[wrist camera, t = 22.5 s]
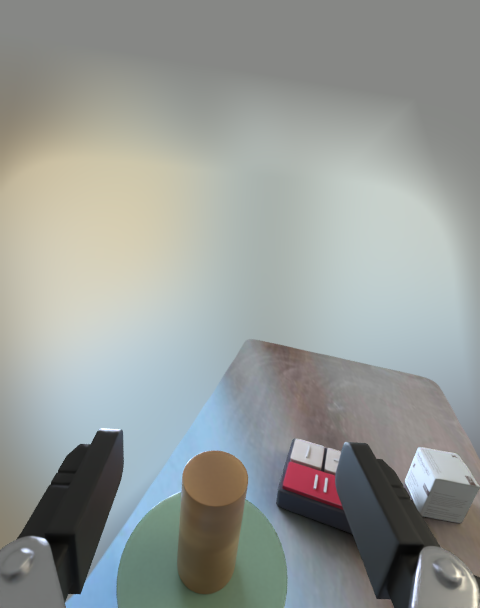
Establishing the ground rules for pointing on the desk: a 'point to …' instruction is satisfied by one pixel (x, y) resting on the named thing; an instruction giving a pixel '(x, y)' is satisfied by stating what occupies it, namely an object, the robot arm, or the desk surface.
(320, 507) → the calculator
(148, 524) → the pot
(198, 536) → the tall wooden cylinder
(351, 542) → the desk surface
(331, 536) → the desk surface
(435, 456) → the white cardboard box
